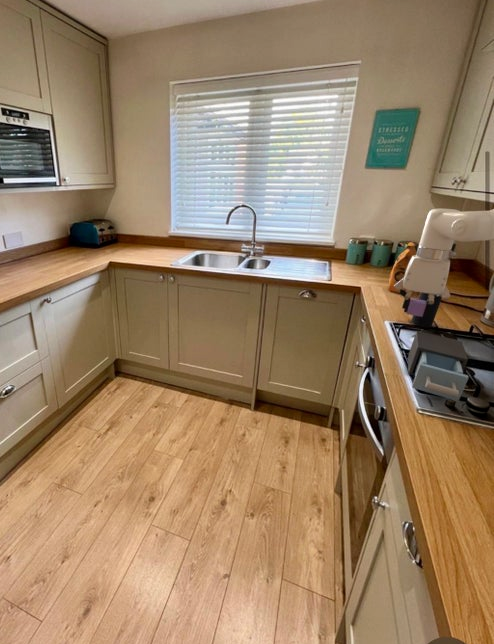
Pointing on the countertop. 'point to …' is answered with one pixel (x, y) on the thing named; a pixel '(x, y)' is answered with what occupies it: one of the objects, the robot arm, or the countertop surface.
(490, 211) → the robot arm
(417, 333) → the compartment
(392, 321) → the countertop surface
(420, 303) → the lavender cube
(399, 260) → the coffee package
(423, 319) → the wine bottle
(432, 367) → the drawer
